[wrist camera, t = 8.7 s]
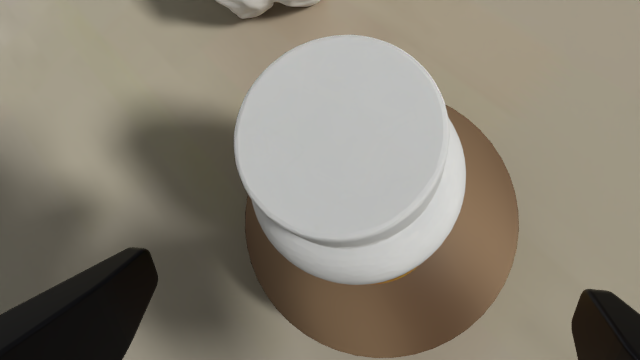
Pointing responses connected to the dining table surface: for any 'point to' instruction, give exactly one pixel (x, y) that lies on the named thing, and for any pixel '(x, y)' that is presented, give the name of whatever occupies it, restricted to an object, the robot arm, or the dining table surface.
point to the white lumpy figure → (260, 6)
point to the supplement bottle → (350, 159)
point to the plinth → (419, 285)
